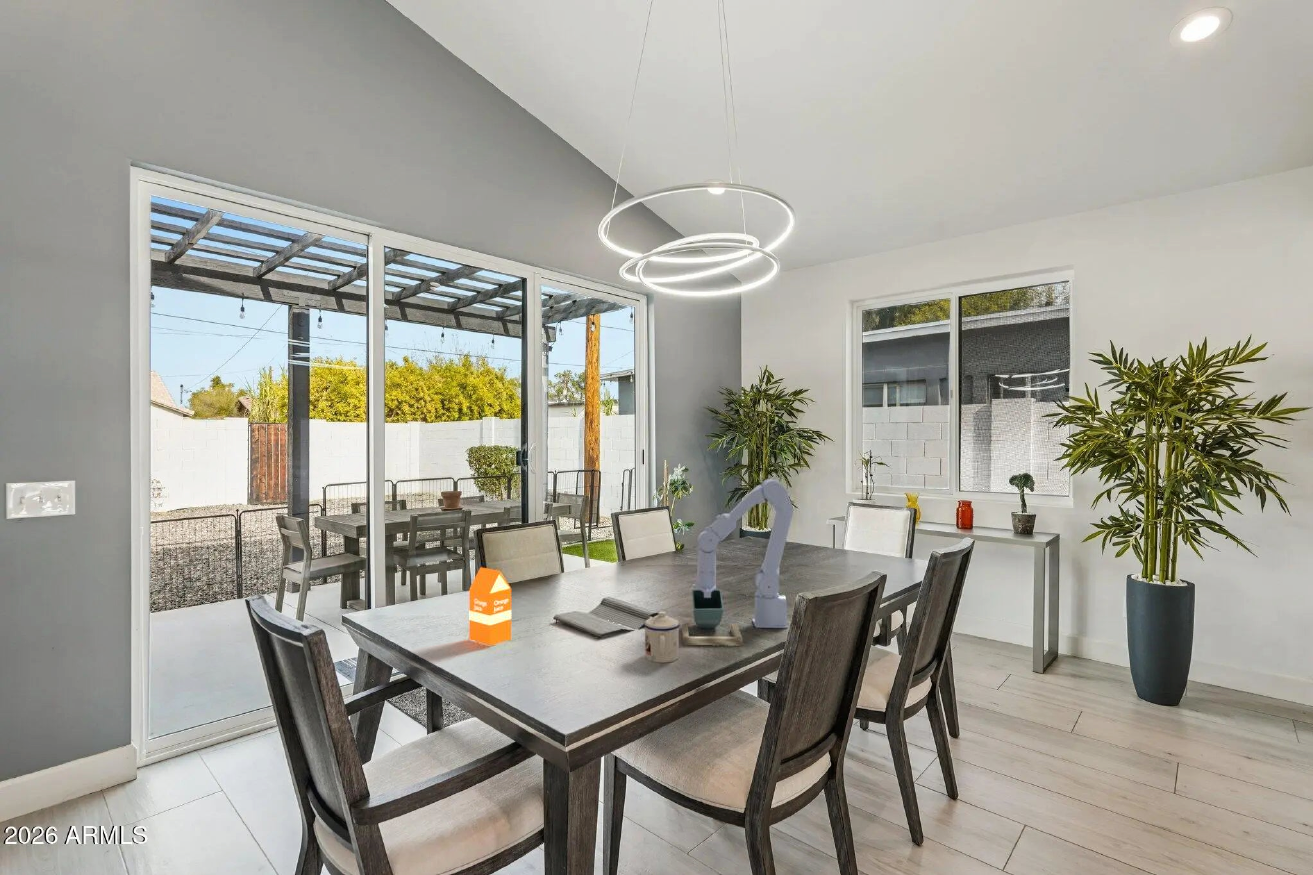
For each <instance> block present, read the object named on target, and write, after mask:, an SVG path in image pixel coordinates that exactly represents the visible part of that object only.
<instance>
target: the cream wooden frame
mask: <svg viewBox="0 0 1313 875" xmlns="http://www.w3.org/2000/svg"><path fill="white" fill-rule="evenodd" d="M681 627H682V628H681V631H682V633H681V634H682V641H683V647H684V646H686V647H687V646H688V645H713V647H715V645H717V646H719V645H725V647H726V646H727V645H728V646H727V647H733V646H734V645H735V646H734V647H738V646H739V647H742V646H743V637H742V634H741V632H740V629H739V627H738V624H737V623H731V625H730V628H731V629H730V630H731V634H732V636H690V635H689V634H690V633H689V626H688V623H681ZM733 636H734V637H733ZM717 646H716V647H717ZM719 647H720V646H719Z"/></svg>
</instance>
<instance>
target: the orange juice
mask: <svg viewBox="0 0 1313 875" xmlns="http://www.w3.org/2000/svg"><path fill="white" fill-rule="evenodd" d="M468 604H469V608H468V610H469V611H468V614H469V616H468V618H469V624H468V625H469V633H468V634H469V638H468V639H471V640H475V641H477V642H481V643H483V644H487V645H493V644H497V643H499V642H503V641H506V640H510V639H511V640H512V588H511V586H510V584H509V583H508V582H507V579H506V578H505V577H504V575H503V574H502V572H501V570H497V569H491V568H486V567H479V570H478V572H477V573H476V575H475V577H474V580H473V581H472V584H471V585H470V588H469V602H468ZM511 640H510V641H511Z"/></svg>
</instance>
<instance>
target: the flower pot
mask: <svg viewBox="0 0 1313 875" xmlns="http://www.w3.org/2000/svg"><path fill="white" fill-rule="evenodd" d="M691 594H692V595H691V596H692V610H693V611H692V612H693V620H694V622H695V624H696V626H697V627H698V628H699V629H706V628H707V629H713V628H714V629H715V628H717V627H718V626H719V625H720V623H721V621H722V618H723V613H724V602H723V597H722V590H721V589H717V588H716V589H715V590H714V591H712V592H711V598H704V593H703V592H702V591H700V590H699V589H692V590H691Z"/></svg>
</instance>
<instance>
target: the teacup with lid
mask: <svg viewBox="0 0 1313 875" xmlns="http://www.w3.org/2000/svg"><path fill="white" fill-rule="evenodd" d="M657 612H658V611H657ZM643 626H644V628H645V629H644V640H645V641H644V656H645V659H646V660H648V661H650V662H653V663H661V664H665V663H666V664H667V663H672V662H675V661H676V660H678V659H679V627H680V622H679V621H678V620H677V619H676V618H673V617H670V616H669V615H667V613H666V612H665V611H659V612H658V615H657V616H655V617H650V618H649V619H648V620H646V621H645V624H644V625H643Z"/></svg>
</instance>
